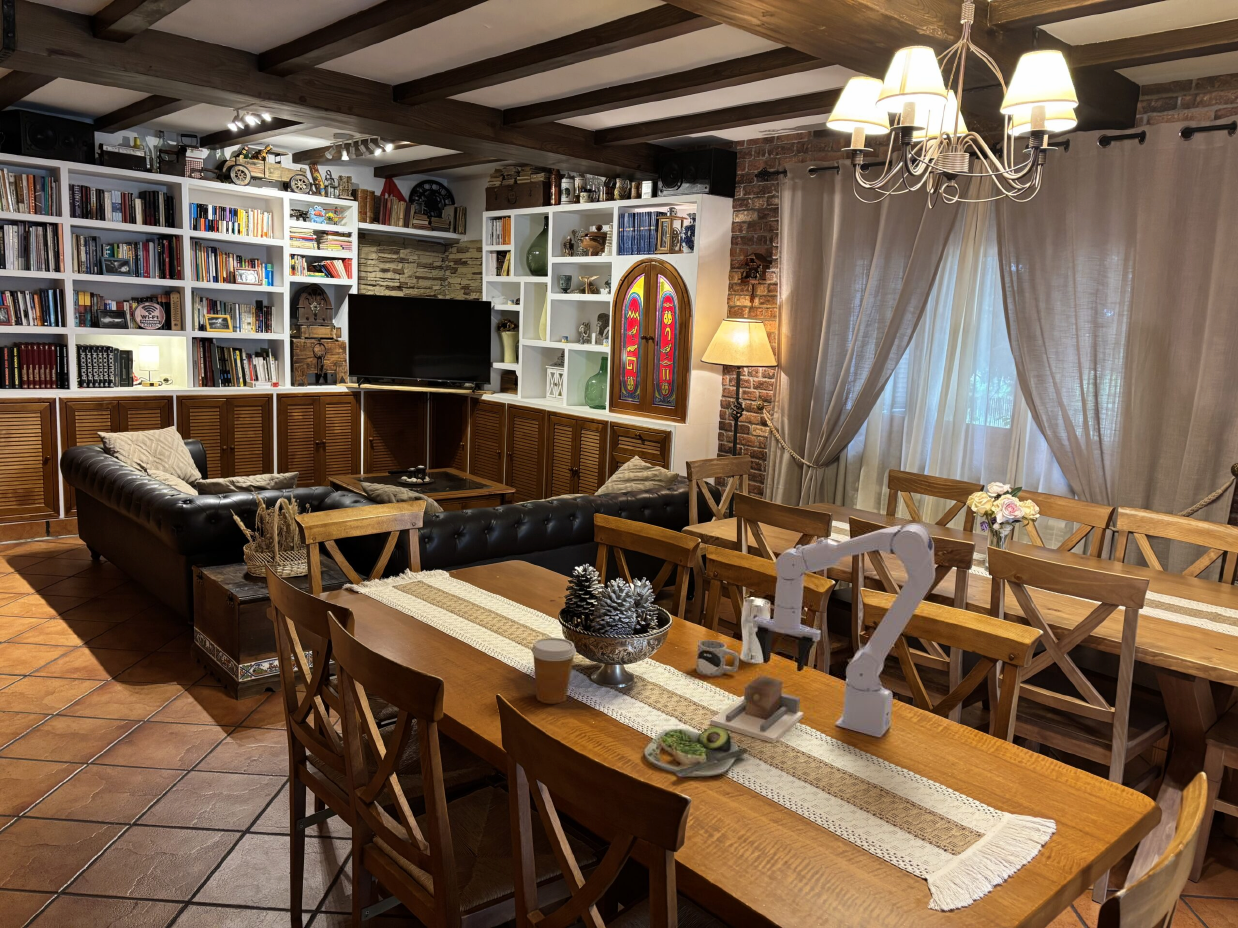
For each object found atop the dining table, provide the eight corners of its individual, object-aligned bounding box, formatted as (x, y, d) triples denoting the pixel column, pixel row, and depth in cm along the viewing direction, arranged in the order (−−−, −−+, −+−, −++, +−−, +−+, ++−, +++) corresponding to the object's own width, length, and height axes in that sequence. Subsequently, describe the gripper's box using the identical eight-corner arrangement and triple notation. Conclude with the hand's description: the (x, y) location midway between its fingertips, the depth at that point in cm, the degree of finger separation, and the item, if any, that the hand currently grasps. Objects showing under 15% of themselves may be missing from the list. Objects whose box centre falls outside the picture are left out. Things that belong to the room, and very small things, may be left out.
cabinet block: (780, 709, 194) (782, 680, 193) (765, 721, 187) (768, 691, 186) (758, 703, 197) (760, 674, 196) (743, 715, 190) (745, 685, 189)
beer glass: (734, 660, 226) (738, 601, 224) (743, 652, 232) (748, 595, 230) (761, 666, 223) (766, 607, 220) (770, 658, 229) (775, 600, 227)
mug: (693, 673, 215) (695, 646, 214) (699, 664, 222) (701, 638, 221) (734, 680, 212) (736, 653, 211) (740, 671, 218) (742, 644, 218)
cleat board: (802, 717, 193) (804, 699, 193) (773, 743, 180) (775, 723, 179) (742, 700, 201) (743, 682, 200) (710, 723, 187) (711, 705, 186)
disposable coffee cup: (522, 692, 198) (525, 639, 196) (562, 687, 202) (565, 635, 200) (539, 709, 189) (542, 654, 188) (580, 703, 194) (583, 649, 192)
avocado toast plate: (721, 796, 158) (723, 770, 158) (627, 770, 165) (628, 746, 165) (752, 753, 176) (754, 730, 175) (666, 732, 183) (667, 710, 182)
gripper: (749, 602, 195) (744, 663, 197) (814, 615, 188) (809, 678, 190) (761, 595, 201) (757, 654, 203) (825, 608, 194) (820, 669, 196)
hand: (783, 665), depth 197 cm, fingers open, 7 cm apart
